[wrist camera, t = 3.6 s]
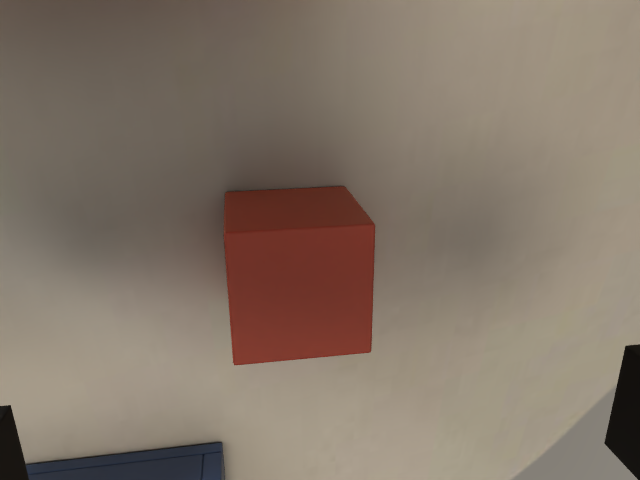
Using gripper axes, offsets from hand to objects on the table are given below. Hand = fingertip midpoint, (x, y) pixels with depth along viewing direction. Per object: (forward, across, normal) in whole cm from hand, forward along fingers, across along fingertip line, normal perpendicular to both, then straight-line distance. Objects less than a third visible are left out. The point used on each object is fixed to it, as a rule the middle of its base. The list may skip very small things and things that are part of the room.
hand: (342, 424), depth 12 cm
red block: (+10, 0, 0) cm, 10 cm away
